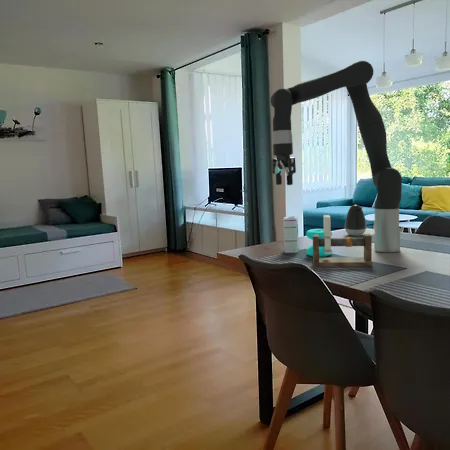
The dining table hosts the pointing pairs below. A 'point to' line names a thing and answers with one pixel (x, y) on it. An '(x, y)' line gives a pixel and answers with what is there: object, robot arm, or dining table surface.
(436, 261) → the dining table surface
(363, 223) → the dark grey egg shape
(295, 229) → the syrup box
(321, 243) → the pipe stand
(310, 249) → the donuts
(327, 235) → the white tall bar
